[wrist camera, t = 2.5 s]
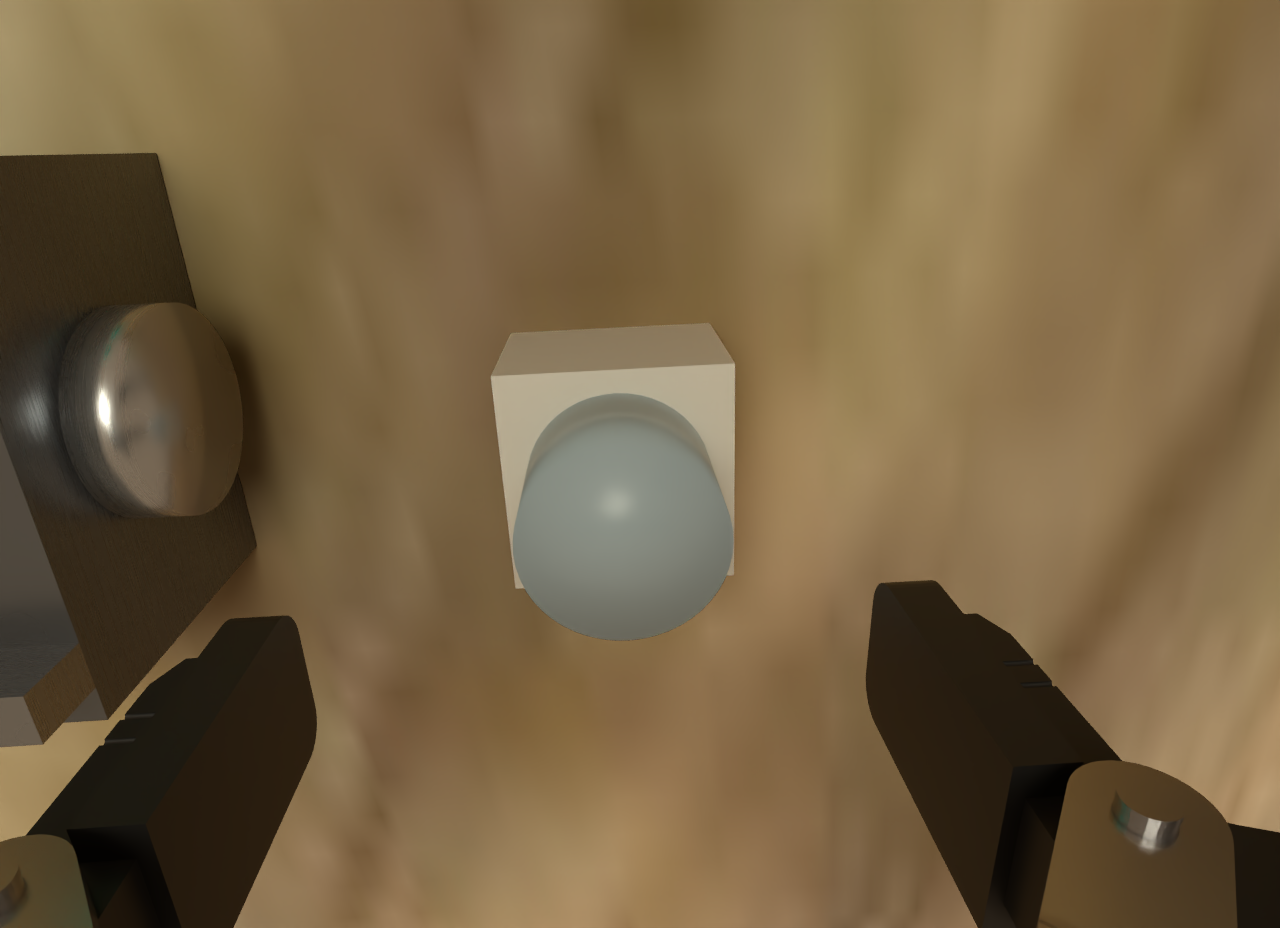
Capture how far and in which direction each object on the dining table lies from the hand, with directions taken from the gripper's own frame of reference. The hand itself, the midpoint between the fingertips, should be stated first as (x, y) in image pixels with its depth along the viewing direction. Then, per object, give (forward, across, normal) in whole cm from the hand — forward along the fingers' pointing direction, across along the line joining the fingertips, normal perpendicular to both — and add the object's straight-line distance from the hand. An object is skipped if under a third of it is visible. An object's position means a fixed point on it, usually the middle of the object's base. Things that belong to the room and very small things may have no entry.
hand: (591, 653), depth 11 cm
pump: (+10, -1, 0) cm, 10 cm away
